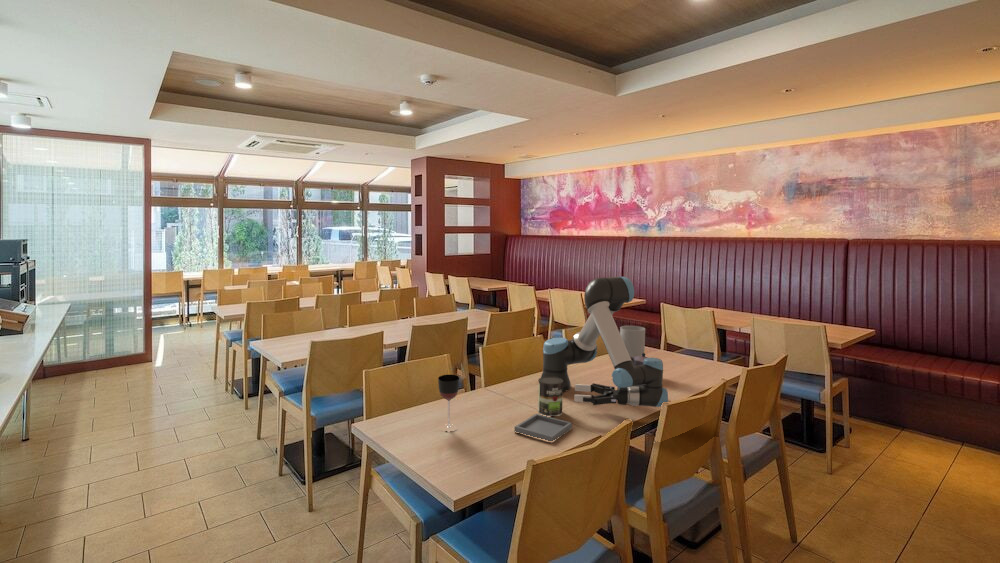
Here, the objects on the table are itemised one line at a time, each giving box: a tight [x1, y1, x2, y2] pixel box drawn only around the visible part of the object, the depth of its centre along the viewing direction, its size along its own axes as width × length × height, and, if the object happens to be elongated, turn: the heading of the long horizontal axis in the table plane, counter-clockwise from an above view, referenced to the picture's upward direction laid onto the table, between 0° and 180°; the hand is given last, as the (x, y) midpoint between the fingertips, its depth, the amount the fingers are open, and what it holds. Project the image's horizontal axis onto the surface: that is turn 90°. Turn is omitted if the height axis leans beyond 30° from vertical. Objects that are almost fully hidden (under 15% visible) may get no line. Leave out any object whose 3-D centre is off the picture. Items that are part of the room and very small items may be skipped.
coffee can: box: [537, 377, 564, 417], centre depth 211 cm, size 10×10×14 cm
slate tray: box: [514, 413, 573, 441], centre depth 193 cm, size 16×16×2 cm
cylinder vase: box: [619, 325, 646, 362], centre depth 264 cm, size 12×12×25 cm
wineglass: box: [437, 374, 460, 428], centre depth 194 cm, size 8×9×20 cm
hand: (574, 392), depth 209 cm, fingers open, 13 cm apart
